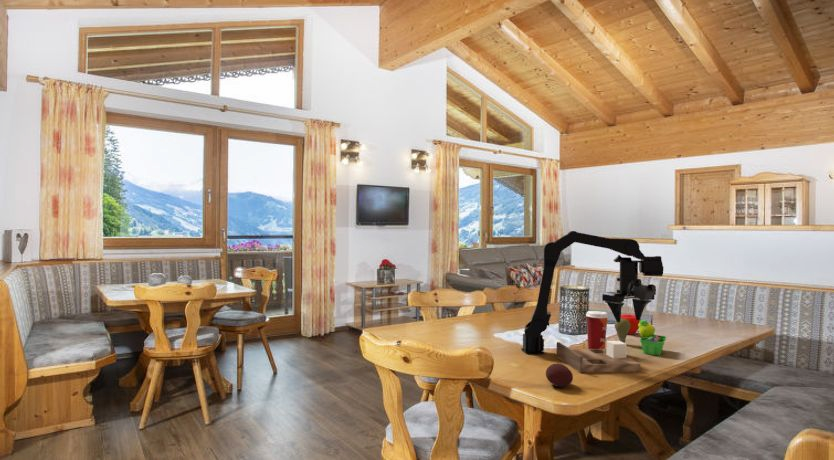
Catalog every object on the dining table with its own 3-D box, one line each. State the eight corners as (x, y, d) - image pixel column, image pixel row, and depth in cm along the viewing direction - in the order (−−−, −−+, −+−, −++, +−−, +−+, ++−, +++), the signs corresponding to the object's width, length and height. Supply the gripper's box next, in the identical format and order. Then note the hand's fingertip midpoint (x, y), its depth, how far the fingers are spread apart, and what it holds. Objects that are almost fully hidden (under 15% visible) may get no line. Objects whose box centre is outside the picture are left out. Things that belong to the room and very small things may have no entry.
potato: (543, 388, 135) (544, 366, 135) (547, 378, 143) (547, 358, 143) (571, 392, 132) (572, 370, 132) (573, 382, 141) (574, 361, 140)
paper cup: (609, 354, 171) (610, 314, 171) (586, 352, 173) (587, 313, 173) (605, 348, 179) (606, 311, 179) (583, 347, 180) (584, 310, 180)
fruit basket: (663, 357, 169) (663, 324, 169) (635, 353, 174) (636, 321, 174) (666, 350, 179) (666, 319, 179) (640, 346, 183) (640, 316, 183)
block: (613, 358, 158) (613, 344, 158) (606, 354, 162) (606, 340, 162) (626, 357, 158) (626, 344, 158) (619, 354, 163) (619, 340, 163)
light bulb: (614, 344, 185) (614, 318, 185) (614, 341, 190) (614, 316, 190) (630, 346, 183) (630, 320, 183) (629, 343, 188) (630, 317, 188)
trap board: (579, 372, 149) (580, 356, 149) (556, 356, 167) (556, 342, 167) (640, 371, 152) (640, 355, 152) (610, 355, 170) (610, 341, 170)
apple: (644, 336, 200) (645, 317, 200) (623, 335, 201) (623, 317, 200) (635, 331, 209) (635, 313, 209) (614, 331, 209) (615, 313, 209)
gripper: (628, 279, 154) (627, 328, 154) (668, 276, 162) (668, 323, 162) (601, 275, 164) (600, 321, 164) (640, 273, 172) (640, 317, 172)
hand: (628, 321), depth 165 cm, fingers open, 9 cm apart
